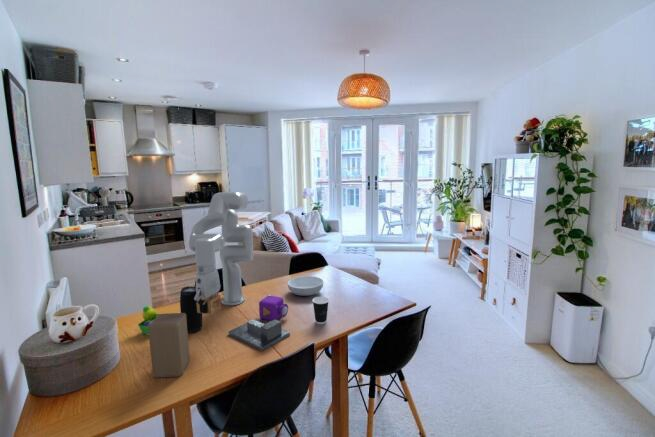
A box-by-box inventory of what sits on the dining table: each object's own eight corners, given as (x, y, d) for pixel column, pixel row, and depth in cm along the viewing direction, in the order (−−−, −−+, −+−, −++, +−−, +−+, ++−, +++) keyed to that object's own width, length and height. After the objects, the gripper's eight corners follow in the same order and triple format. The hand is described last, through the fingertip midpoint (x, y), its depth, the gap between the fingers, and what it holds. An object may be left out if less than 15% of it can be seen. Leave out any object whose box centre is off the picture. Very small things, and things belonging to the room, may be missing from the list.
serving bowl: (303, 284, 208) (303, 273, 206) (330, 291, 195) (330, 280, 194) (280, 294, 191) (279, 283, 190) (308, 303, 179) (308, 291, 178)
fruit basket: (151, 337, 144) (149, 313, 142) (135, 334, 146) (133, 310, 145) (171, 325, 154) (169, 302, 153) (155, 323, 157) (153, 300, 155)
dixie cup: (317, 316, 162) (317, 295, 161) (332, 320, 159) (331, 298, 157) (309, 323, 155) (309, 301, 154) (324, 327, 152) (324, 304, 150)
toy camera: (284, 323, 155) (284, 303, 154) (257, 321, 158) (256, 301, 157) (291, 313, 166) (291, 295, 164) (266, 311, 169) (265, 293, 167)
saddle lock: (197, 312, 136) (196, 298, 135) (207, 306, 142) (206, 293, 141) (211, 314, 134) (210, 300, 133) (221, 308, 140) (220, 294, 139)
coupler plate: (228, 334, 146) (227, 318, 144) (256, 321, 158) (256, 306, 157) (261, 351, 132) (261, 333, 131) (289, 335, 145) (289, 319, 144)
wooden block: (163, 362, 125) (159, 312, 122) (190, 360, 126) (186, 311, 123) (152, 379, 115) (146, 325, 112) (181, 377, 116) (177, 324, 113)
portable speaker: (206, 324, 155) (203, 285, 152) (197, 334, 146) (194, 292, 143) (188, 324, 155) (185, 284, 152) (178, 334, 146) (175, 292, 143)
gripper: (199, 275, 126) (203, 319, 129) (226, 262, 142) (229, 301, 145) (183, 273, 128) (187, 317, 131) (211, 261, 144) (214, 299, 147)
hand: (209, 308), depth 138 cm, fingers closed on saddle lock, 6 cm apart
